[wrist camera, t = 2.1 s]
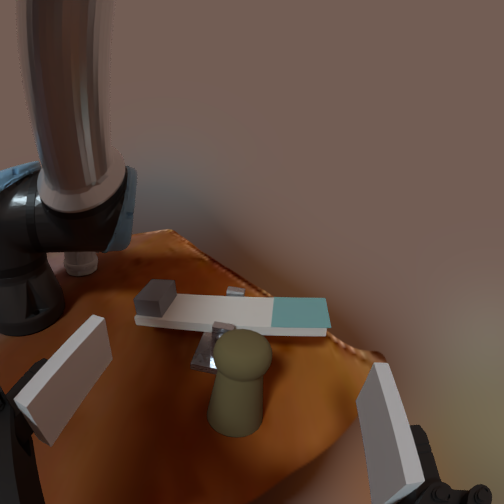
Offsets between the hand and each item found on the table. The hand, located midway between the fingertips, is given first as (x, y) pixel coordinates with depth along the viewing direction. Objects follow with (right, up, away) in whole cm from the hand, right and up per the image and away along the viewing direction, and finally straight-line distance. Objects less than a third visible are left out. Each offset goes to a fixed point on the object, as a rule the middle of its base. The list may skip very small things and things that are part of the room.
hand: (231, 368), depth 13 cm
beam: (-2, -3, +25) cm, 25 cm away
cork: (-1, -12, +16) cm, 20 cm away
